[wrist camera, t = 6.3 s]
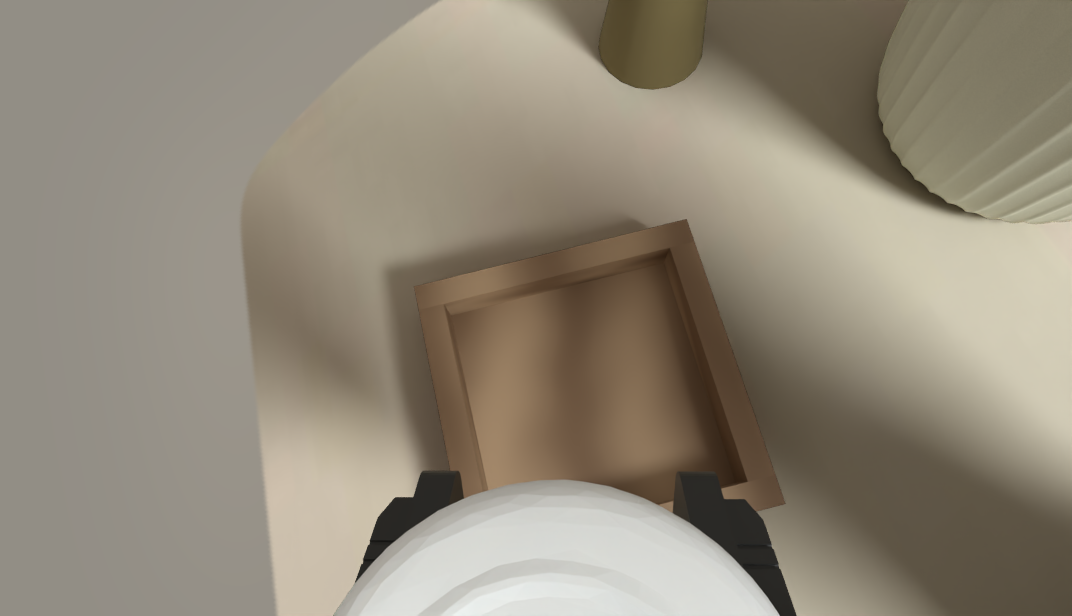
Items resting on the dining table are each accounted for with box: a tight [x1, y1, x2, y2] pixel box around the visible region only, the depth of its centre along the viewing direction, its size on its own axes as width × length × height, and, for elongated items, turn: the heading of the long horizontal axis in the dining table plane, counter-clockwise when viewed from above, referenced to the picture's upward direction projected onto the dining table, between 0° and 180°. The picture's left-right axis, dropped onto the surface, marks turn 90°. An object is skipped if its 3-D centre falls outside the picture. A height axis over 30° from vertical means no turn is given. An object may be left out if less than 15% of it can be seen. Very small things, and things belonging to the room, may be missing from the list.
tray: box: [414, 219, 785, 513], centre depth 29 cm, size 13×13×3 cm
